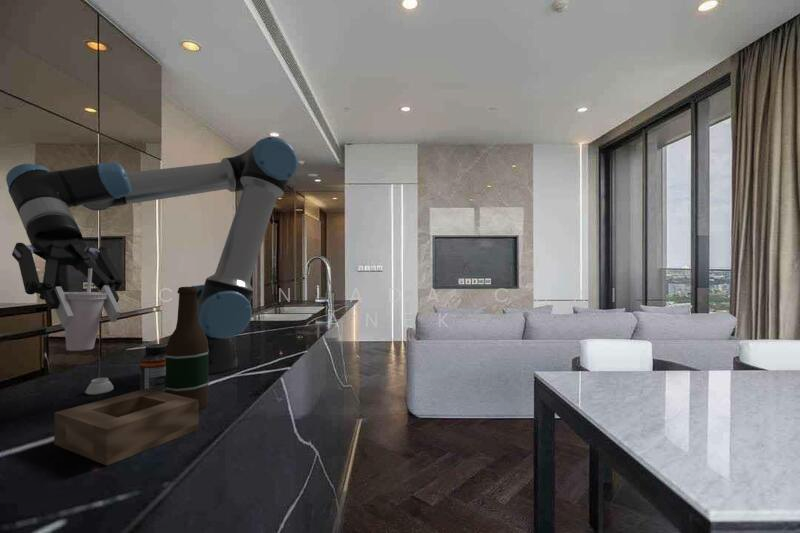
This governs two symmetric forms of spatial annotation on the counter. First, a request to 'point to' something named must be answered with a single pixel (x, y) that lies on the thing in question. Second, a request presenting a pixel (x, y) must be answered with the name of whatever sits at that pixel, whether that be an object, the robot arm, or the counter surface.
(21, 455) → the counter surface
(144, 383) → the supplement bottle
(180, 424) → the socket board
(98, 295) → the smoothie
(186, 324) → the beer bottle
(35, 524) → the counter surface
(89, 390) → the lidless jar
